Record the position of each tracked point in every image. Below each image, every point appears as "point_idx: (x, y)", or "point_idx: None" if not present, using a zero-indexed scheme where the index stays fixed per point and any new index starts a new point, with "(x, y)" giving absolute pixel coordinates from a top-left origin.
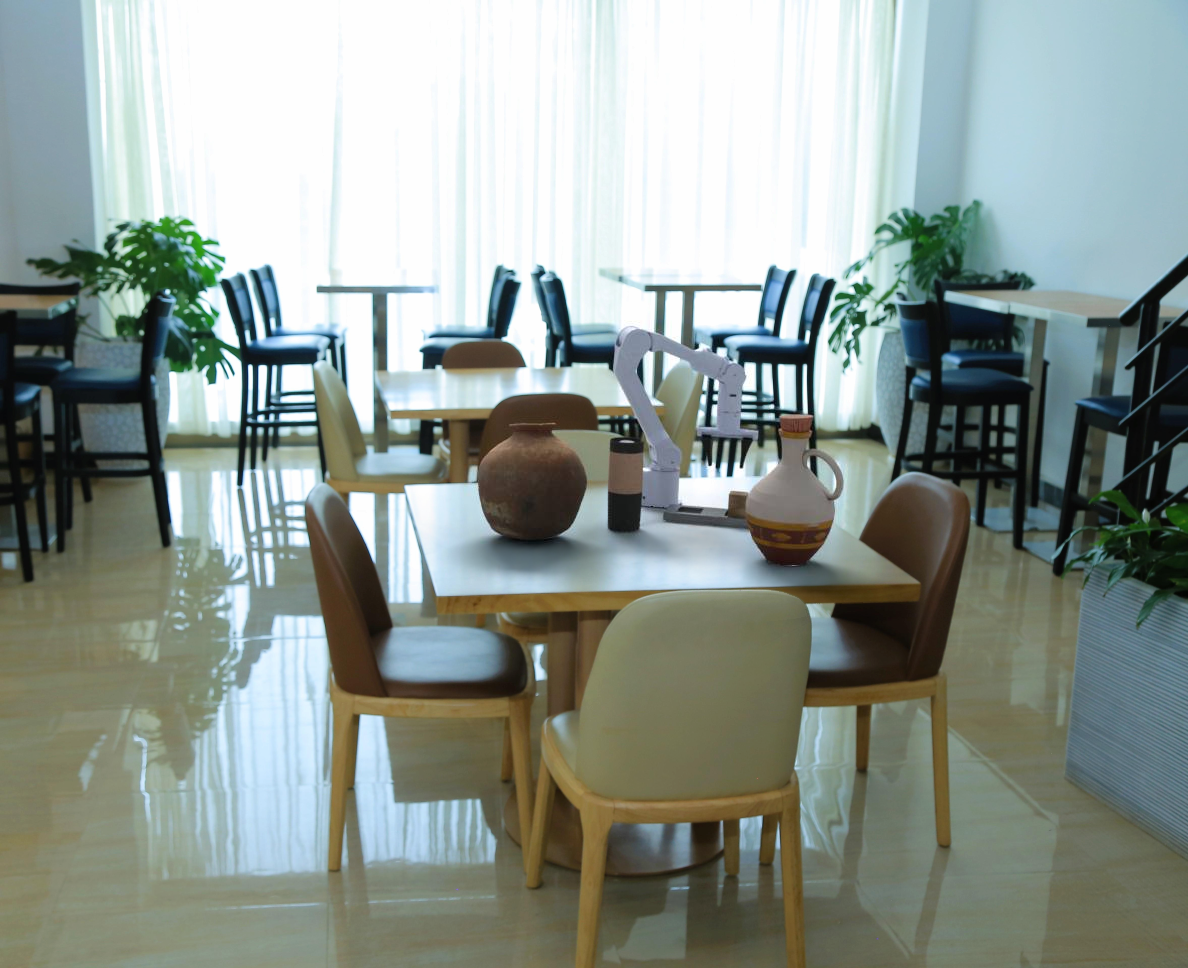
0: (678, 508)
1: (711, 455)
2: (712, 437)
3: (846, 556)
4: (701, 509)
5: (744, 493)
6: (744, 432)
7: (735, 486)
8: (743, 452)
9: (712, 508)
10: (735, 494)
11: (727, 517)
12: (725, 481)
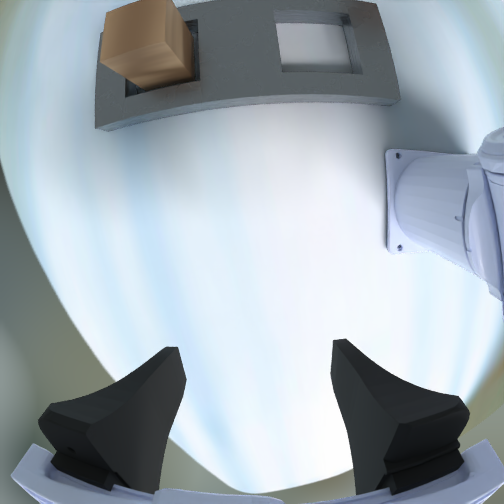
0: (358, 48)
1: (346, 393)
2: (371, 489)
3: (12, 11)
4: (290, 73)
5: (112, 33)
6: (62, 499)
7: (271, 455)
8: (121, 389)
9: (254, 84)
10: (142, 1)
11: (184, 8)
12: (297, 472)
